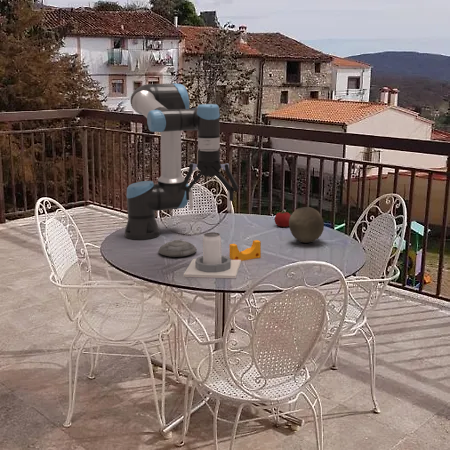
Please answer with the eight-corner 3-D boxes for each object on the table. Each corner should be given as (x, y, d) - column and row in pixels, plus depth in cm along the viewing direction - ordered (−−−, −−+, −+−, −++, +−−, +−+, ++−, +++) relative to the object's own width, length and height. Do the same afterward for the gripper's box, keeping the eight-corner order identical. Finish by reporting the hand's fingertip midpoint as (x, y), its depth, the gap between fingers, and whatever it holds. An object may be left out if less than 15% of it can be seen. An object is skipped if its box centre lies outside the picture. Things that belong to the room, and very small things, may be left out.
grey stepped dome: (161, 261, 221) (161, 247, 220) (155, 250, 236) (155, 237, 234) (200, 257, 225) (200, 243, 224) (192, 247, 239) (192, 234, 238)
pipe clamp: (254, 254, 227) (254, 238, 225) (260, 257, 223) (260, 241, 222) (227, 259, 222) (227, 243, 220) (232, 262, 218) (232, 246, 216)
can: (219, 270, 206) (218, 237, 203) (201, 269, 207) (200, 236, 204) (223, 264, 212) (222, 232, 209) (205, 263, 213) (205, 231, 210)
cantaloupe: (290, 238, 249) (290, 203, 246) (324, 239, 246) (325, 204, 243) (287, 247, 236) (287, 210, 232) (322, 248, 233) (323, 211, 229)
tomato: (271, 226, 268) (271, 211, 267) (280, 223, 275) (280, 208, 273) (287, 229, 264) (287, 213, 262) (295, 225, 270) (295, 210, 269)
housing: (183, 277, 202) (183, 267, 202) (193, 261, 220) (192, 252, 219) (235, 278, 200) (235, 268, 199) (241, 262, 217) (240, 253, 217)
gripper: (171, 150, 201) (173, 211, 207) (243, 151, 198) (243, 212, 203) (175, 148, 208) (177, 206, 214) (245, 148, 205) (245, 207, 211)
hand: (209, 209), depth 209 cm, fingers open, 13 cm apart
